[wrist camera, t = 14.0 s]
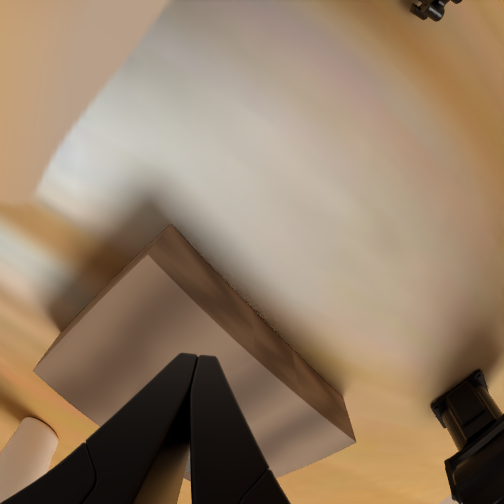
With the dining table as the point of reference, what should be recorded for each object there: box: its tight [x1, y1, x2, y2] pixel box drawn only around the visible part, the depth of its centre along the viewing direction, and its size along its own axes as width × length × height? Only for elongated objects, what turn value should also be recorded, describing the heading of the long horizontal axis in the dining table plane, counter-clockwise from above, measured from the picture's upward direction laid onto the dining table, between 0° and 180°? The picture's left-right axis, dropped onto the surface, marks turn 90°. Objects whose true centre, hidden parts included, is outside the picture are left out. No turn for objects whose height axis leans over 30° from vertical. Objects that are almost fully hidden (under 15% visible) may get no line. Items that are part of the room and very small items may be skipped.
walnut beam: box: [33, 224, 356, 481], centre depth 21 cm, size 20×14×5 cm
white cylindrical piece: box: [0, 417, 58, 503], centre depth 21 cm, size 7×7×15 cm
